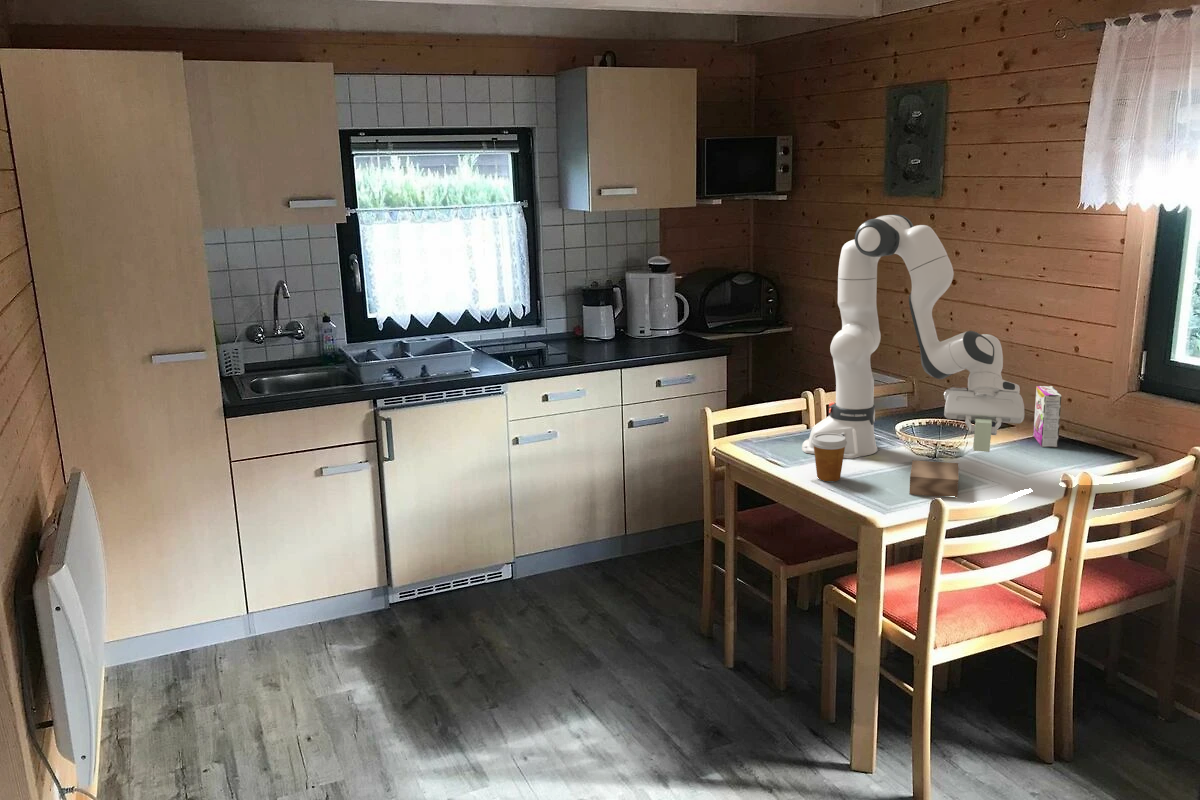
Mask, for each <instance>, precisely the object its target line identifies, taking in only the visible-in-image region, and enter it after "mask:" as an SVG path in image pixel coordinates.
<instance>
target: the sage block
mask: <svg viewBox="0 0 1200 800" xmlns="http://www.w3.org/2000/svg"><path fill="white" fill-rule="evenodd" d="M974 422H975V423H974V425H975V434H973V444H972V446H973V447H972V450H973V452H985V453H989V452H990V451H991V441H992V440H991V439H992V435H991V428H992V427H993V426H992V425H993V422H992V420H991V419H980V418H975V420H974Z"/></svg>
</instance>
